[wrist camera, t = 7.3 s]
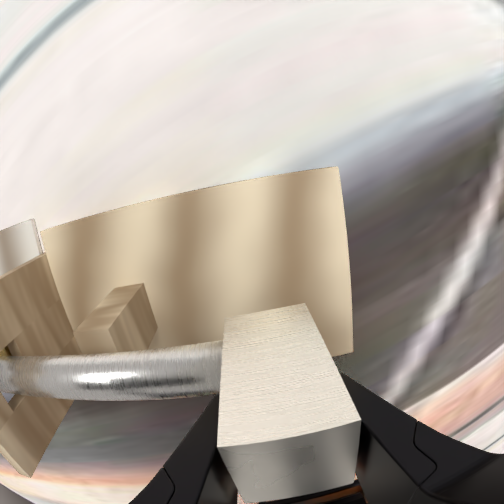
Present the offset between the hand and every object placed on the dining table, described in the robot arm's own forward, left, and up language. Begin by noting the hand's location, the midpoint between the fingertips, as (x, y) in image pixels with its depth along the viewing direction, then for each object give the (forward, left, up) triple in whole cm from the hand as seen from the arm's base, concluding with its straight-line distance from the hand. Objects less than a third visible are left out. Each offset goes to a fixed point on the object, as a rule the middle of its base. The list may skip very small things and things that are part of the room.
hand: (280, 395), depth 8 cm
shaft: (0, +9, -3) cm, 9 cm away
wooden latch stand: (0, +9, -10) cm, 14 cm away
